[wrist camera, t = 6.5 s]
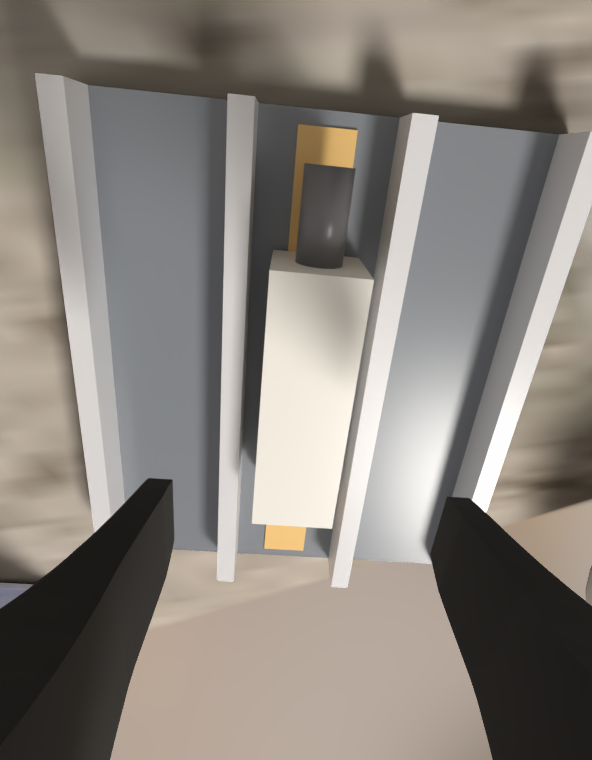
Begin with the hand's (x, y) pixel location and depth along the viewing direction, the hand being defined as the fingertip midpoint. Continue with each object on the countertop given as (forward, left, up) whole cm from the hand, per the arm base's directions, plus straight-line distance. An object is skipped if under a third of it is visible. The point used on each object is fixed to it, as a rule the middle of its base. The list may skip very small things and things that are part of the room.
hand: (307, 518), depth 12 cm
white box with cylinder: (+2, 0, -8) cm, 8 cm away
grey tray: (0, 0, -9) cm, 9 cm away
